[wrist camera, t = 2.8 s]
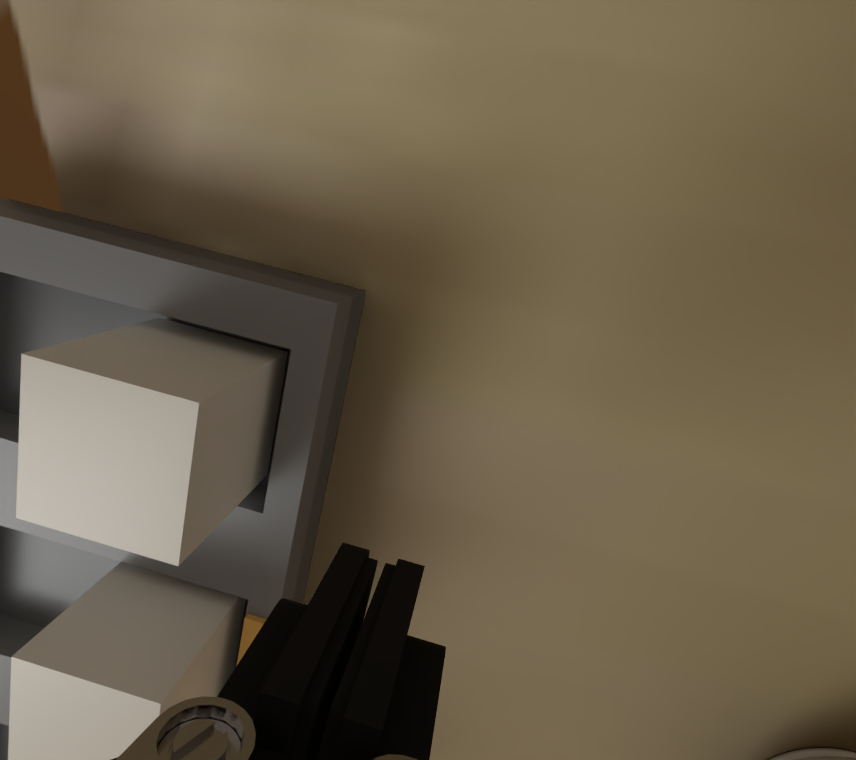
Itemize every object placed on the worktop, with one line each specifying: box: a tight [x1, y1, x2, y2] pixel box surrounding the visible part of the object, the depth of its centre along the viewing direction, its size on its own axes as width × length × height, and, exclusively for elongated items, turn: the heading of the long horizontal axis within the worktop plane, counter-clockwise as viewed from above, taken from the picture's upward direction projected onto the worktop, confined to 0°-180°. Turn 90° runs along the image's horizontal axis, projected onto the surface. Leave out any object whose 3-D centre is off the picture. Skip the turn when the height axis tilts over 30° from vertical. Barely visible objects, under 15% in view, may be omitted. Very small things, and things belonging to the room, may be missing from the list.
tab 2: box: [8, 562, 246, 760], centre depth 17 cm, size 4×4×5 cm
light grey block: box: [16, 318, 288, 566], centre depth 15 cm, size 4×4×5 cm
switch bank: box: [0, 198, 366, 760], centre depth 20 cm, size 24×12×3 cm, turn 167°
